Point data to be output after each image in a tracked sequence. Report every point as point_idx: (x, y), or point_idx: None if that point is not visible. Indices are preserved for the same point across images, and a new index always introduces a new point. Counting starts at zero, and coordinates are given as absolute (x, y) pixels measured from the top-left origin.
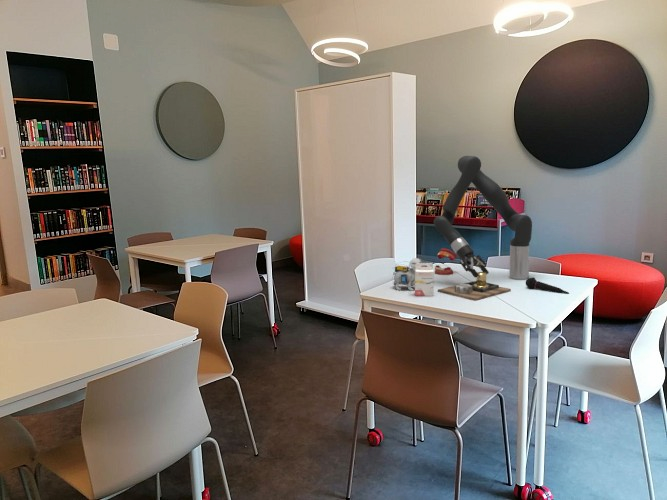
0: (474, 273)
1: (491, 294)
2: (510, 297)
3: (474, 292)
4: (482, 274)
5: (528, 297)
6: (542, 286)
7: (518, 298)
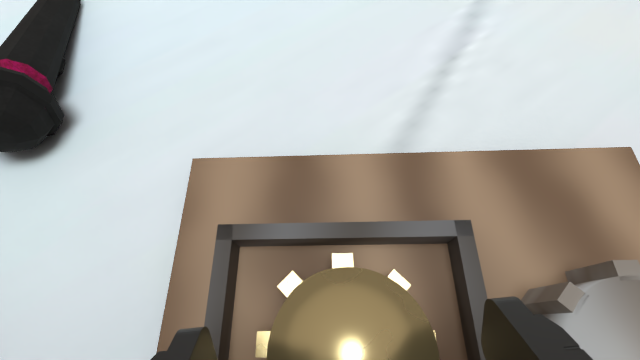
0: (576, 347)
1: (431, 153)
2: (348, 81)
3: (516, 272)
4: (395, 286)
5: (272, 33)
6: (52, 46)
7: (331, 48)
